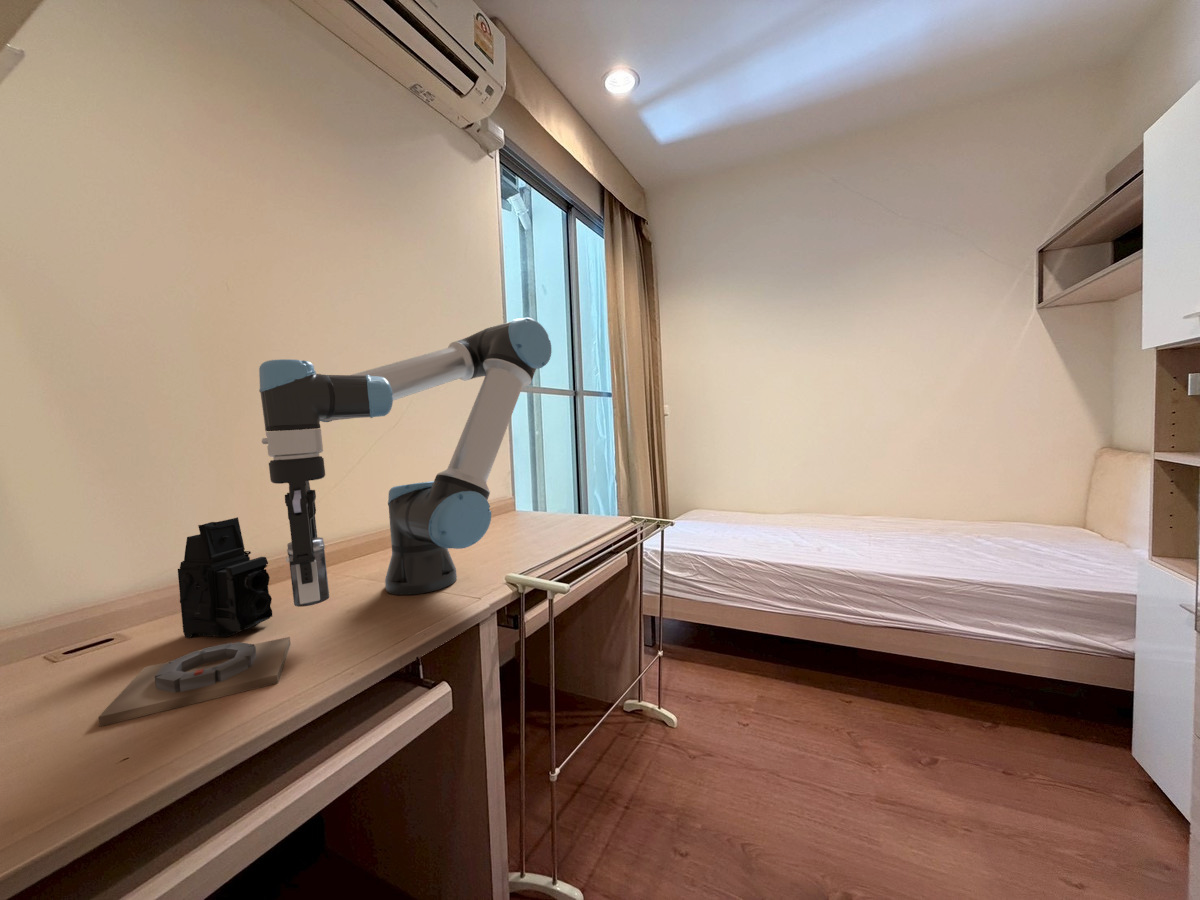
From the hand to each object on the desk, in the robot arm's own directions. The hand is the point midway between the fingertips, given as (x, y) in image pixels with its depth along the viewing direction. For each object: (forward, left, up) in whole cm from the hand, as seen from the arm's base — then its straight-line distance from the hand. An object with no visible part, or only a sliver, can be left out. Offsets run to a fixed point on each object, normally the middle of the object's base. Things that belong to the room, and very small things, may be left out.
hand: (311, 595), depth 77 cm
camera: (+14, -15, -8) cm, 22 cm away
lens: (0, 0, -1) cm, 1 cm away
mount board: (+13, +5, -8) cm, 16 cm away
